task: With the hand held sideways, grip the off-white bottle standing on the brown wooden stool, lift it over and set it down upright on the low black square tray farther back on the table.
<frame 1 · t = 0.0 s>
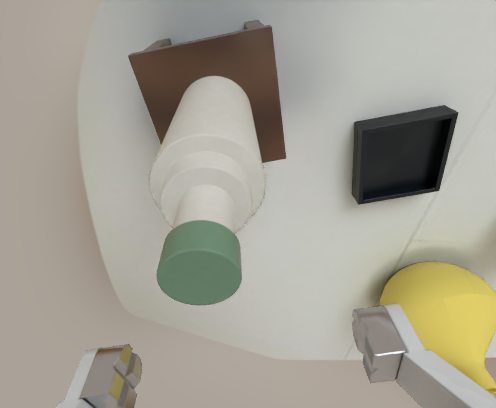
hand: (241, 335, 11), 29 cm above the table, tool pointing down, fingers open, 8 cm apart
brown wooden stool: (218, 84, 33), on the table
black square tray: (394, 153, 40), on the table
bottle: (216, 113, 25), point 10 cm above the table, touching brown wooden stool
vase: (414, 279, 56), on the table
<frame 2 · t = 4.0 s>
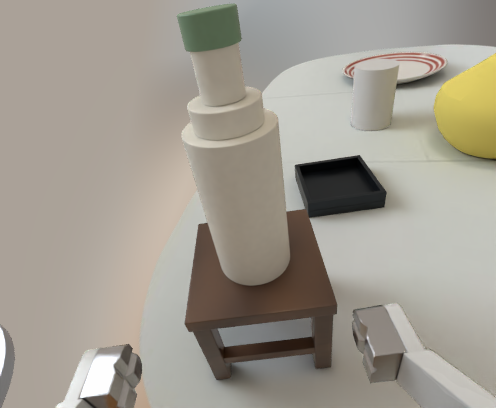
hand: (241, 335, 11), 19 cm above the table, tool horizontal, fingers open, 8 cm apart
brown wooden stool: (267, 320, 31), on the table
white cylinder: (370, 123, 65), on the table
black square tray: (335, 191, 47), on the table
bottle: (255, 256, 25), point 10 cm above the table, touching brown wooden stool
dinner plate: (390, 76, 88), on the table
vase: (485, 146, 52), on the table
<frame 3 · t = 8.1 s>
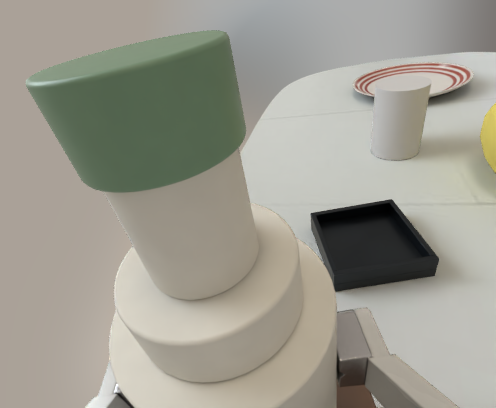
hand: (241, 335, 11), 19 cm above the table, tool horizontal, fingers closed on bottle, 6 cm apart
white cylinder: (394, 150, 55), on the table
black square tray: (365, 248, 37), on the table
dinner plate: (407, 90, 78), on the table
when the fingers open (10 cm above the table, at t = 20.0 s): bottle stays where it is, resting on black square tray.
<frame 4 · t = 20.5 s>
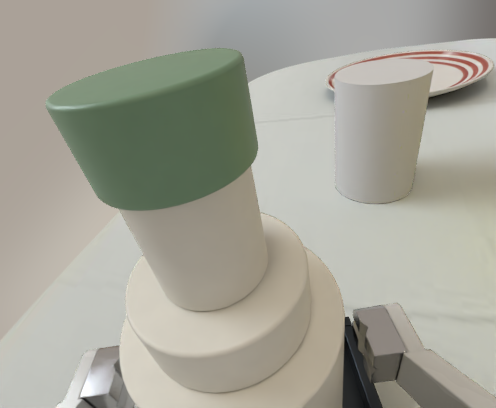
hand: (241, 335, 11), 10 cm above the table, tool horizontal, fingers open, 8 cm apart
white cylinder: (371, 183, 34), on the table
dinner plate: (399, 87, 57), on the table
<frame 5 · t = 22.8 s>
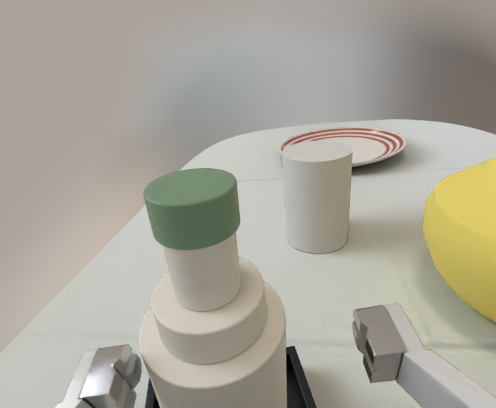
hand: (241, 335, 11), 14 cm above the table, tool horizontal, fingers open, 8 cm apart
white cylinder: (316, 236, 40), on the table
dinner plate: (338, 155, 69), on the table
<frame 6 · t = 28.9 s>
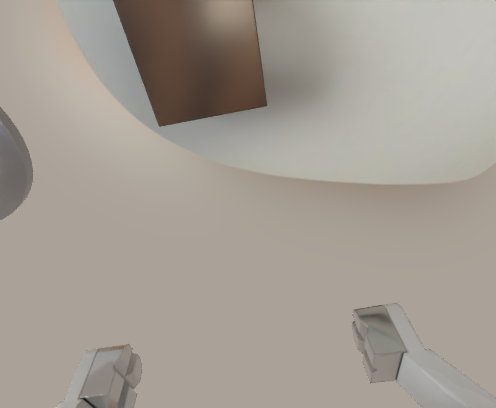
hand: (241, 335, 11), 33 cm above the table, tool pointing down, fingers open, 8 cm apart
brown wooden stool: (204, 41, 34), on the table
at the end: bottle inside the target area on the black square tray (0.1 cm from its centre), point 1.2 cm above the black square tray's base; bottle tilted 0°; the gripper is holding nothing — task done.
